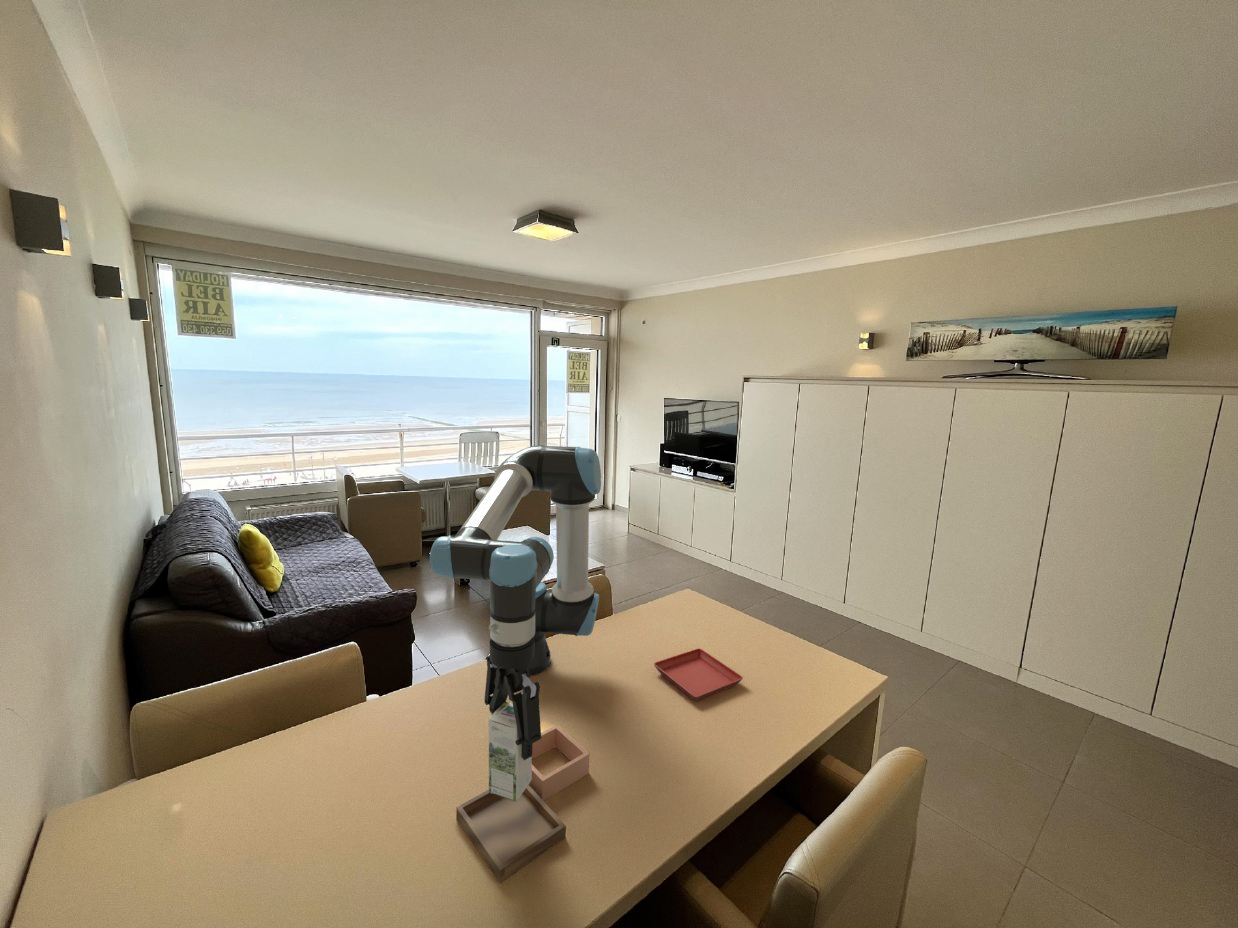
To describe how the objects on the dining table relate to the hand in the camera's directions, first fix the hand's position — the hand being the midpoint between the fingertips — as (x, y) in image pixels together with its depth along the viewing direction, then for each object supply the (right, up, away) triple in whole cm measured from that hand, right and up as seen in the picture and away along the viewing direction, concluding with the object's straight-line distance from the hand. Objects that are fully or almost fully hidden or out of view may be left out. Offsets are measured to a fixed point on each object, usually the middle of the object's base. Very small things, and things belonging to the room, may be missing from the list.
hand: (510, 758), depth 89 cm
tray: (-1, -14, +2) cm, 14 cm away
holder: (+5, -12, +16) cm, 21 cm away
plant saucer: (+41, -9, +52) cm, 67 cm away
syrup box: (0, -6, +1) cm, 6 cm away
